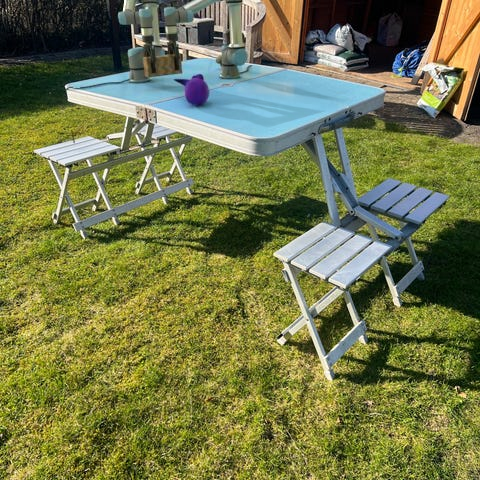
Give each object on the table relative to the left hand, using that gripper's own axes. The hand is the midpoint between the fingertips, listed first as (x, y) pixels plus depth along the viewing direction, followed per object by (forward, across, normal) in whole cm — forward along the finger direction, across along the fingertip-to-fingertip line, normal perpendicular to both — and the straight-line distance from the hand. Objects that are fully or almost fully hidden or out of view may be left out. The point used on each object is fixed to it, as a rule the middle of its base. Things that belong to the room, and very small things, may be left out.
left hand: (151, 72), depth 305 cm
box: (+3, 0, -9) cm, 9 cm away
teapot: (+12, +40, -83) cm, 93 cm away
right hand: (0, 0, -17) cm, 17 cm away
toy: (+12, -50, -5) cm, 52 cm away
